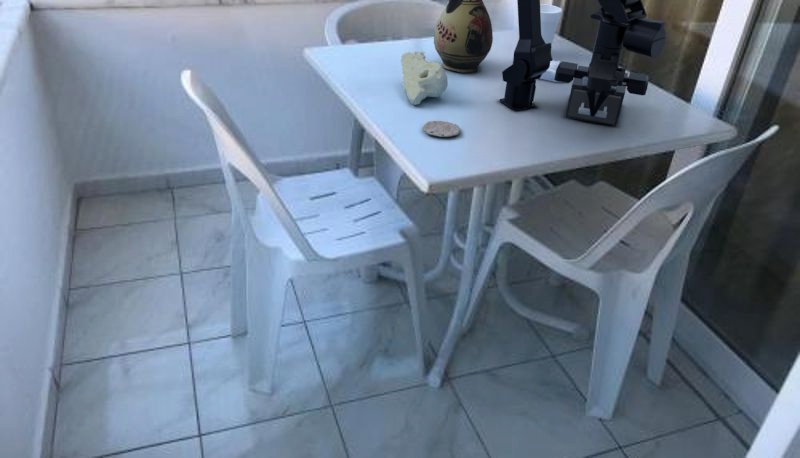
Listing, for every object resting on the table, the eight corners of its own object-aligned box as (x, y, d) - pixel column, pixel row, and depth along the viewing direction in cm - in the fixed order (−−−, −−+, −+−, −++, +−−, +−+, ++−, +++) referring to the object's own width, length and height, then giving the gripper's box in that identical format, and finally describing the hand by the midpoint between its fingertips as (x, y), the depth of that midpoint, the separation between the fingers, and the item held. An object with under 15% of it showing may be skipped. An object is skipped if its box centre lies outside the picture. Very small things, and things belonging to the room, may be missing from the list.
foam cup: (555, 60, 182) (564, 14, 175) (523, 58, 182) (531, 12, 175) (549, 49, 190) (558, 4, 183) (518, 47, 190) (525, 2, 182)
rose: (546, 68, 163) (528, 55, 171) (543, 84, 166) (525, 71, 173) (580, 65, 166) (560, 53, 174) (576, 82, 169) (557, 69, 176)
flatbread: (418, 134, 137) (418, 130, 137) (429, 120, 143) (429, 116, 143) (454, 141, 135) (455, 137, 135) (464, 127, 141) (464, 123, 141)
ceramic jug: (473, 55, 182) (486, -59, 165) (498, 74, 170) (515, -46, 154) (417, 59, 177) (425, -58, 160) (439, 79, 165) (450, -45, 148)
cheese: (444, 118, 150) (466, 64, 154) (427, 100, 145) (450, 45, 149) (396, 117, 160) (418, 67, 164) (379, 101, 155) (401, 49, 159)
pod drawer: (612, 133, 141) (619, 106, 138) (565, 124, 144) (570, 97, 140) (617, 104, 155) (624, 79, 151) (574, 97, 158) (579, 72, 154)
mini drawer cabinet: (616, 126, 146) (625, 93, 142) (565, 117, 149) (572, 84, 145) (619, 105, 157) (628, 73, 153) (572, 96, 160) (578, 65, 155)
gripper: (558, 48, 127) (544, 121, 136) (655, 63, 123) (635, 138, 131) (565, 34, 136) (551, 103, 145) (656, 47, 132) (637, 118, 140)
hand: (592, 115), depth 140 cm, fingers closed
